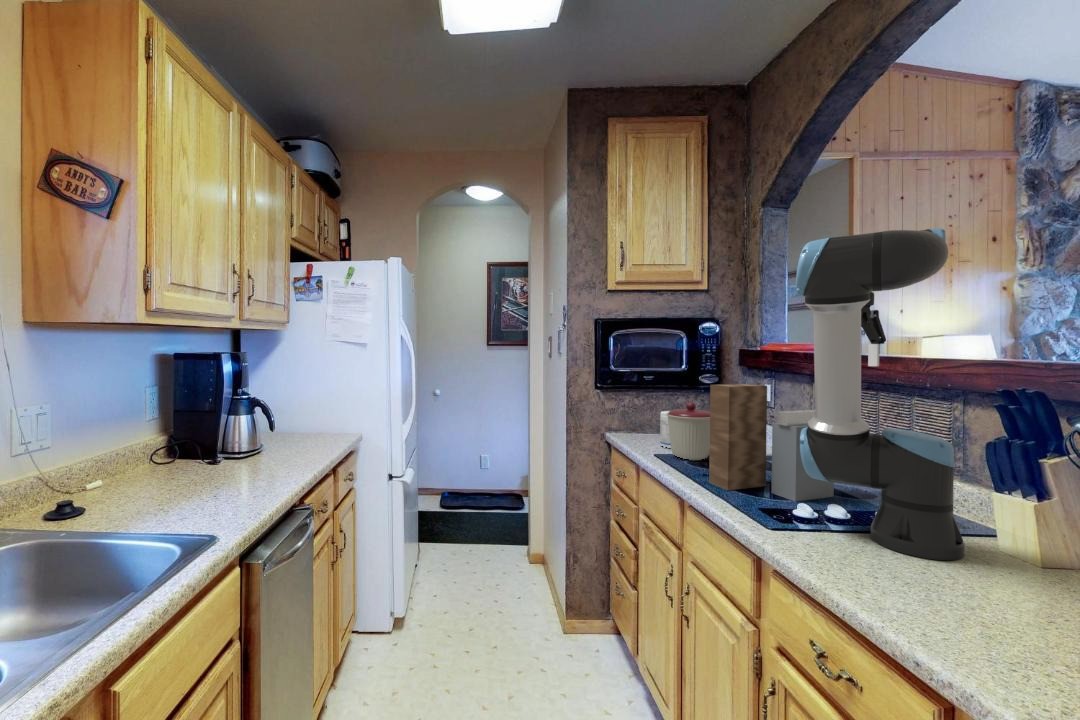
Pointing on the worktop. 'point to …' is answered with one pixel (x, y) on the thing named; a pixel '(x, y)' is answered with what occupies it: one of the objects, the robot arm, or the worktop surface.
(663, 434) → the supplement tub
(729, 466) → the walnut column
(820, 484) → the gray rectangular block
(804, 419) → the steel lever bar
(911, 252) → the robot arm
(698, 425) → the canister
